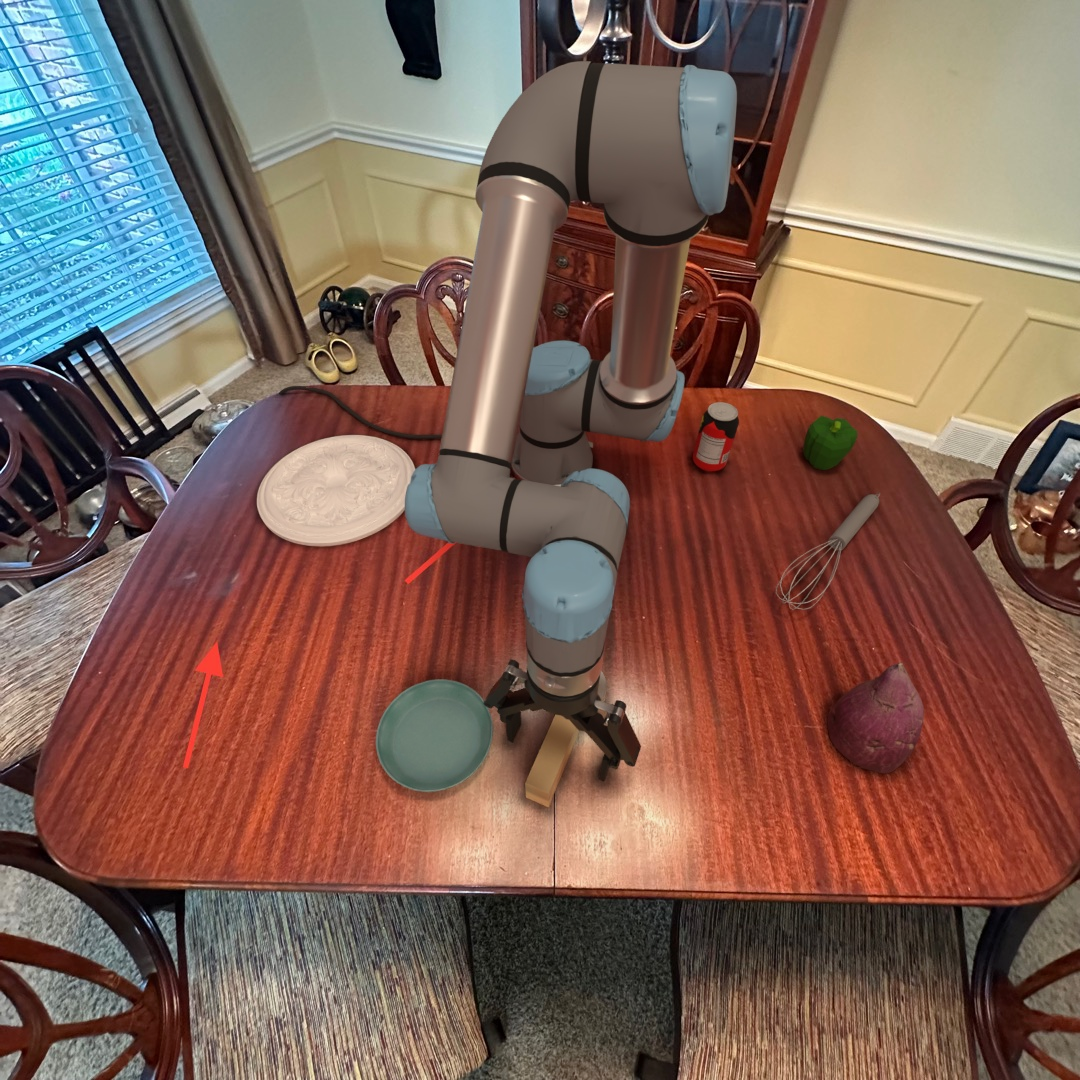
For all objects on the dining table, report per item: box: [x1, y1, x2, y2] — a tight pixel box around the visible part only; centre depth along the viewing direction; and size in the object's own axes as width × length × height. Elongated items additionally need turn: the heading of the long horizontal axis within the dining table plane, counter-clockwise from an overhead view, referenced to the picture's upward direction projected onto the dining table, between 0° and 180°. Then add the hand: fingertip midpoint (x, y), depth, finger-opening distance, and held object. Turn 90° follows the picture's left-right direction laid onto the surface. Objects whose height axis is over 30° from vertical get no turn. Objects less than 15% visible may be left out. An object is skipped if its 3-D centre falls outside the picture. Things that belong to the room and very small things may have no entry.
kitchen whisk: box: [775, 492, 881, 611], centre depth 96 cm, size 6×34×6 cm, turn 137°
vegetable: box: [826, 662, 925, 774], centre depth 75 cm, size 10×10×15 cm
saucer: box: [375, 678, 494, 793], centre depth 77 cm, size 15×15×3 cm
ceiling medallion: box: [256, 434, 416, 547], centre depth 108 cm, size 28×28×3 cm
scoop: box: [524, 670, 608, 808], centre depth 76 cm, size 18×6×5 cm, turn 157°
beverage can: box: [692, 401, 740, 472], centre depth 108 cm, size 6×6×12 cm
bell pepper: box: [802, 415, 858, 471], centre depth 110 cm, size 8×8×10 cm
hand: (558, 751), depth 77 cm, fingers open, 12 cm apart
